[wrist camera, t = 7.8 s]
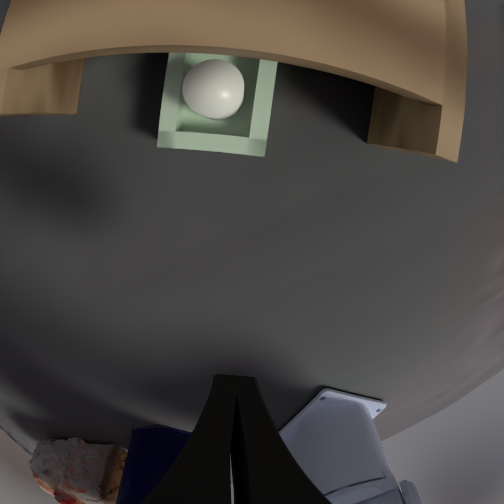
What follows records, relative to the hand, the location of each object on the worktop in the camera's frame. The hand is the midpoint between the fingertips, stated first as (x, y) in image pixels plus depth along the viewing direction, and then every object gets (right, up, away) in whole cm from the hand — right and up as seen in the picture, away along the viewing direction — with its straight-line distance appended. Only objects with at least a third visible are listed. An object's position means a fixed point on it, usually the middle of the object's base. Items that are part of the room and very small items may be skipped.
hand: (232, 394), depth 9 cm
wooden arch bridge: (-1, +16, +4) cm, 17 cm away
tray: (-1, +14, +4) cm, 15 cm away
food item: (-20, -20, +18) cm, 34 cm away
